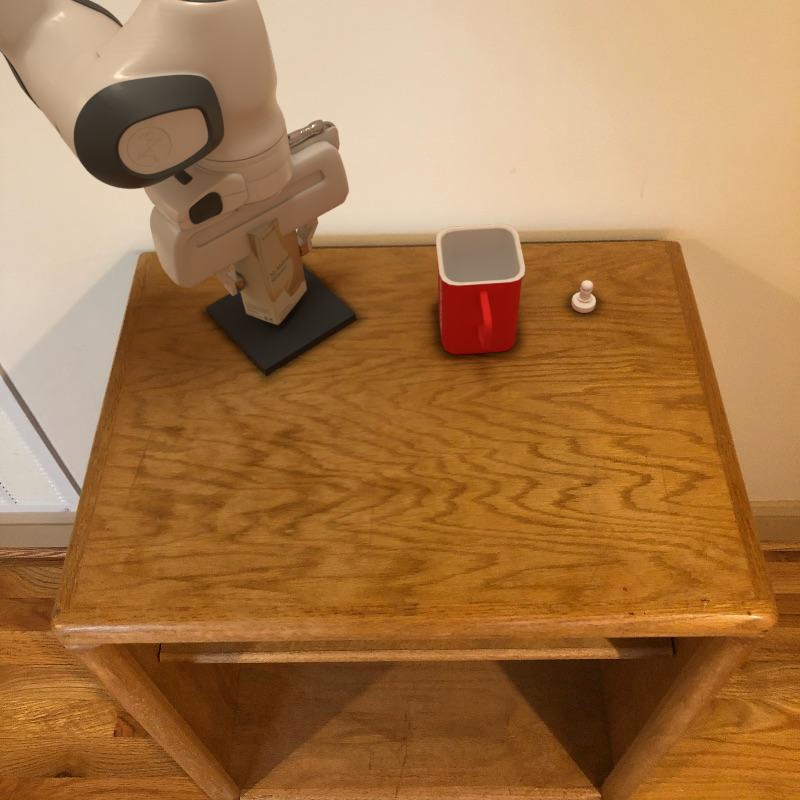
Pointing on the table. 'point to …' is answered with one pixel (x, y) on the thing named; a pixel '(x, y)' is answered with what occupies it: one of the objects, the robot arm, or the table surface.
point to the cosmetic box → (271, 273)
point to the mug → (479, 287)
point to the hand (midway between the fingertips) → (269, 270)
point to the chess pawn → (584, 298)
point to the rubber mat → (283, 325)
